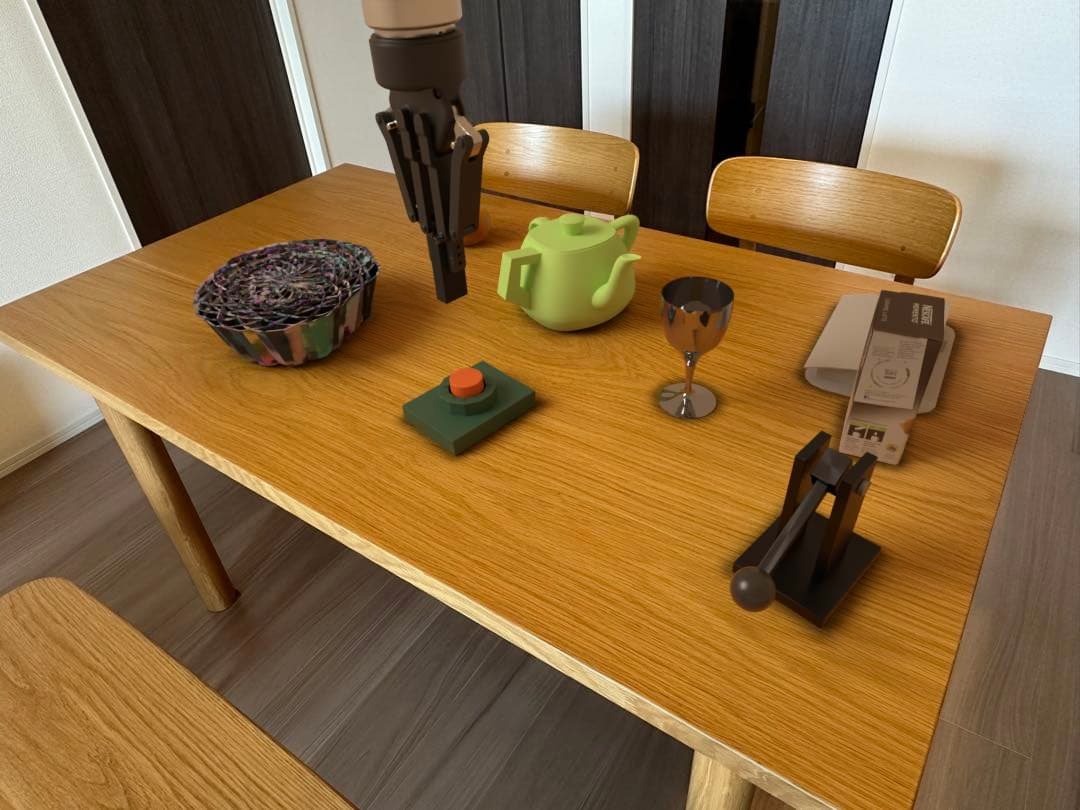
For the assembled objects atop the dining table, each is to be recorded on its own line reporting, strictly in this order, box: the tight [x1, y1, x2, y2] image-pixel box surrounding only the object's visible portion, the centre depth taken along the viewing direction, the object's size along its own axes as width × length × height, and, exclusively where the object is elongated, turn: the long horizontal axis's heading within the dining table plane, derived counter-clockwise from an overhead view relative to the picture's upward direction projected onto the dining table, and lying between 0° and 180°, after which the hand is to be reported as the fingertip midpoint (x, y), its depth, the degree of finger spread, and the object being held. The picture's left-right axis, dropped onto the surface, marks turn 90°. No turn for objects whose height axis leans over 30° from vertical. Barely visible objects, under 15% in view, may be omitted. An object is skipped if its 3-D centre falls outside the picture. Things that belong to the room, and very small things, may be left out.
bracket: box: [731, 430, 883, 629], centre depth 61 cm, size 11×9×14 cm
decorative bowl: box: [192, 238, 382, 368], centre depth 102 cm, size 26×28×10 cm
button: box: [449, 367, 484, 398], centre depth 84 cm, size 4×4×2 cm
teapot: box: [496, 212, 642, 332], centre depth 100 cm, size 19×20×14 cm
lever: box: [729, 446, 854, 613], centre depth 57 cm, size 15×4×4 cm, turn 134°
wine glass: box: [657, 275, 735, 419], centre depth 81 cm, size 8×8×15 cm
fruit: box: [463, 204, 492, 246], centre depth 124 cm, size 8×8×8 cm
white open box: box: [803, 293, 956, 415], centre depth 90 cm, size 15×23×4 cm, turn 148°
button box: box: [401, 360, 537, 457], centre depth 85 cm, size 13×10×4 cm
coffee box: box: [838, 289, 946, 466], centre depth 74 cm, size 9×6×16 cm
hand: (452, 296), depth 68 cm, fingers closed
